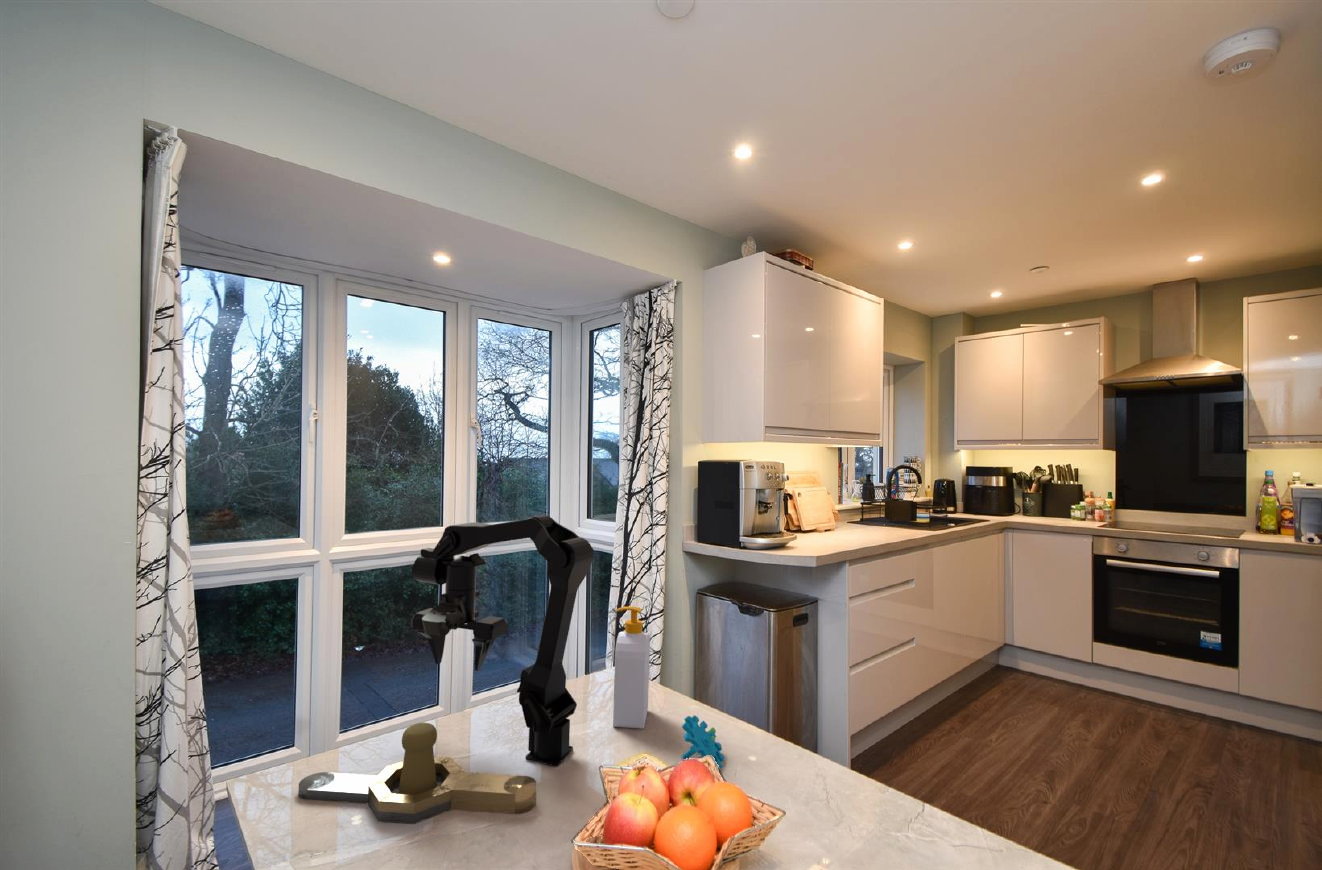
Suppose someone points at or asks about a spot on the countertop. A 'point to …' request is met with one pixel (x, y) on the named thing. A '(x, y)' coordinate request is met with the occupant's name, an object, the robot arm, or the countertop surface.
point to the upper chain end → (457, 791)
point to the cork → (418, 759)
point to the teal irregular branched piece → (701, 740)
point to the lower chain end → (361, 794)
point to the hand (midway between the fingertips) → (457, 667)
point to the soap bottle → (631, 674)
